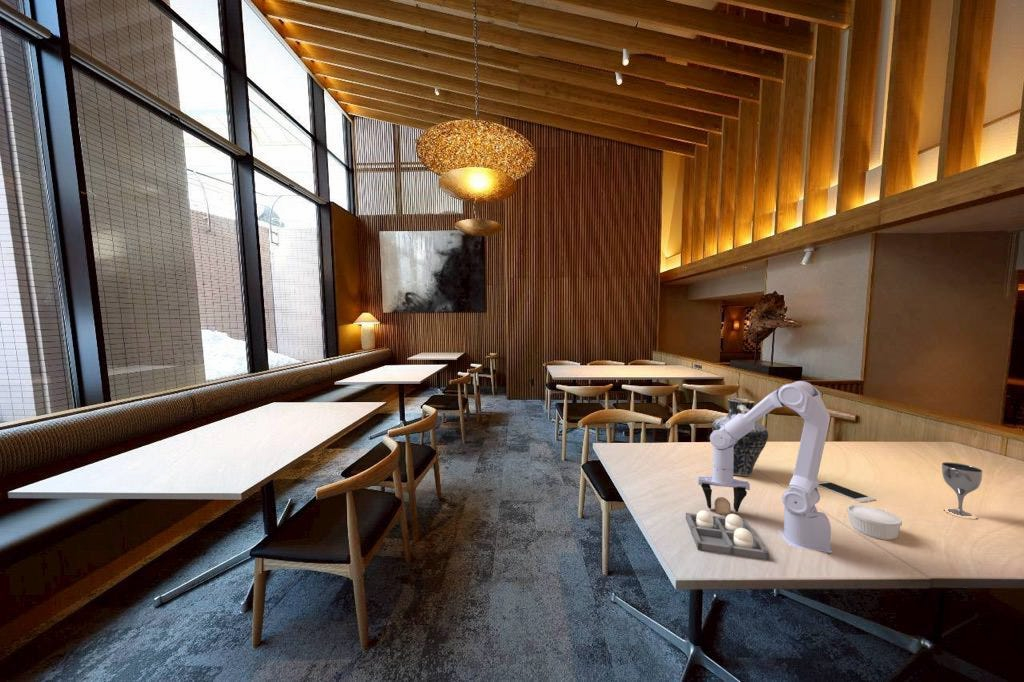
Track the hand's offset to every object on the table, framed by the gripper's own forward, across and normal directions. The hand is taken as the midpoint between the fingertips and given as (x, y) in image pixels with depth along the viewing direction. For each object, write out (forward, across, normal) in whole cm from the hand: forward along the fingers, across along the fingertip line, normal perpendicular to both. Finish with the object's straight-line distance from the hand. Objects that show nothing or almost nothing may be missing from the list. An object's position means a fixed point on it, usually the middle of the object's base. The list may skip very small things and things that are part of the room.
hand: (722, 508), depth 115 cm
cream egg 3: (+1, 0, +20) cm, 20 cm away
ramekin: (+2, -39, 0) cm, 39 cm away
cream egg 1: (+1, +8, +12) cm, 15 cm away
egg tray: (+1, +4, +16) cm, 17 cm away
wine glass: (+2, -72, -19) cm, 74 cm away
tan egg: (+2, 0, 0) cm, 2 cm away
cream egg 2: (+1, 0, +12) cm, 12 cm away
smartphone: (+2, -46, -28) cm, 54 cm away
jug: (+2, -16, -38) cm, 41 cm away
